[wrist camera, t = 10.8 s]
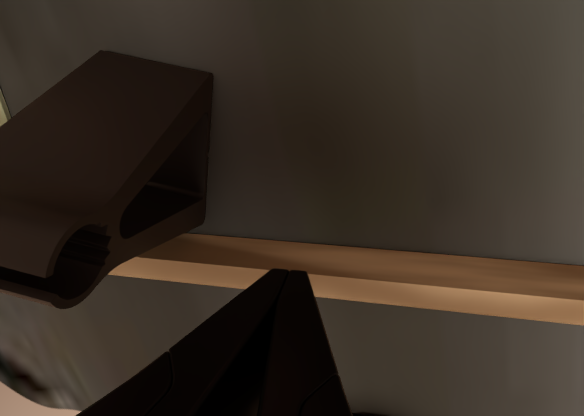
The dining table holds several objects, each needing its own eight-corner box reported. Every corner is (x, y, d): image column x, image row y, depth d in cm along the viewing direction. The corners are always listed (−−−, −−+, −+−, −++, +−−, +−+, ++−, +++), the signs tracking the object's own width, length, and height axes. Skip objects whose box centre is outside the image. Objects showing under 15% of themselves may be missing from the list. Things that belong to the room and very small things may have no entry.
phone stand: (105, 49, 19) (-210, 85, 9) (214, 72, 19) (19, 141, 8) (115, 199, 24) (-87, 344, 13) (204, 221, 23) (68, 390, 13)
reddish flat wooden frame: (583, 288, 20) (615, 328, 18) (2, 235, 27) (-38, 258, 24) (946, -552, 9) (1191, -793, 6) (-230, -291, 15) (-354, -355, 13)
